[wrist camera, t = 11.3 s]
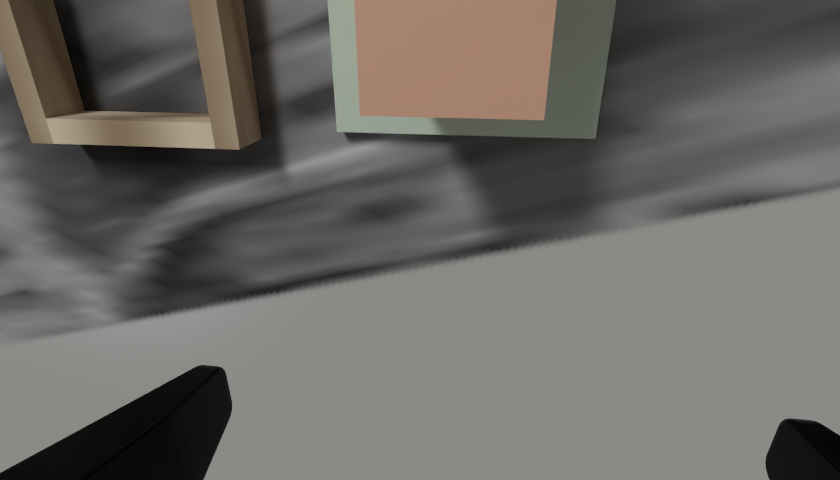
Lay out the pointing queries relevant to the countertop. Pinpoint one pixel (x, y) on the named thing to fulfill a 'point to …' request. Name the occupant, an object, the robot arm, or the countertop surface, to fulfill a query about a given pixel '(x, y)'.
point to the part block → (454, 58)
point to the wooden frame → (70, 124)
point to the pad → (564, 118)
